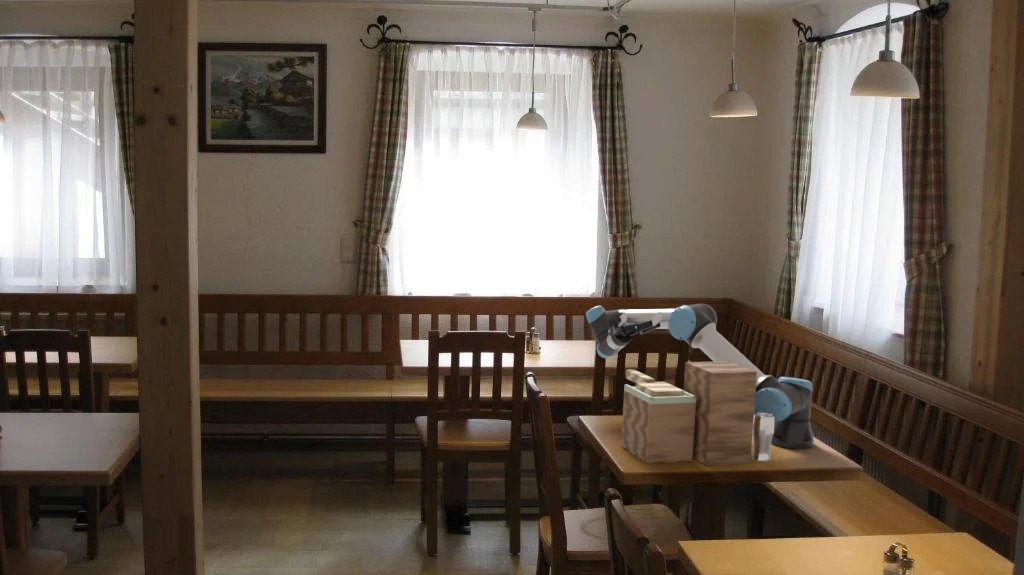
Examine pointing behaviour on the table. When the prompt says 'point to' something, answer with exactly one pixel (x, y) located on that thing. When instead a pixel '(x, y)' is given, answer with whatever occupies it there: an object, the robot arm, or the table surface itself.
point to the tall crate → (722, 411)
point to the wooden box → (658, 429)
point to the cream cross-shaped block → (652, 385)
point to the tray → (660, 400)
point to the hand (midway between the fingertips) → (643, 315)
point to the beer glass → (762, 436)
